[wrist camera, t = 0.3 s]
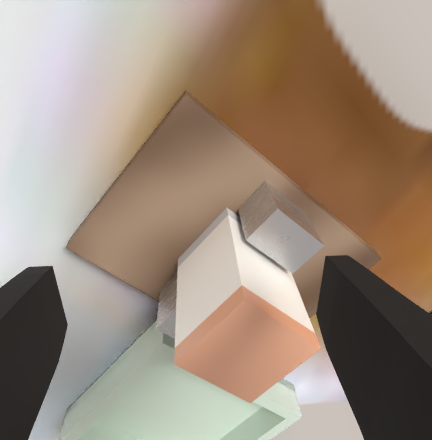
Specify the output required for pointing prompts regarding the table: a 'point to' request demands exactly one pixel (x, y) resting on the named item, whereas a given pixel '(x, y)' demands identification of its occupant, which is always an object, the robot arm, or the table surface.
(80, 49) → the table surface
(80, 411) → the tray
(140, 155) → the clip board
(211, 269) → the white and orange block
